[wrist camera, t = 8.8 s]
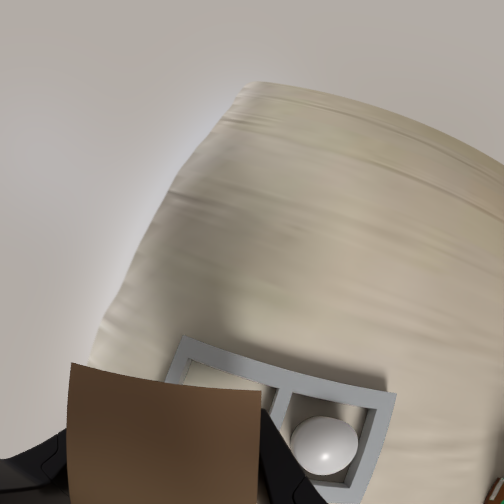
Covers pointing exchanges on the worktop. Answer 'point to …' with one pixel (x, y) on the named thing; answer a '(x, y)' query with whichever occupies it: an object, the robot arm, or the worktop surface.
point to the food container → (496, 493)
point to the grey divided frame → (315, 428)
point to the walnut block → (159, 441)
